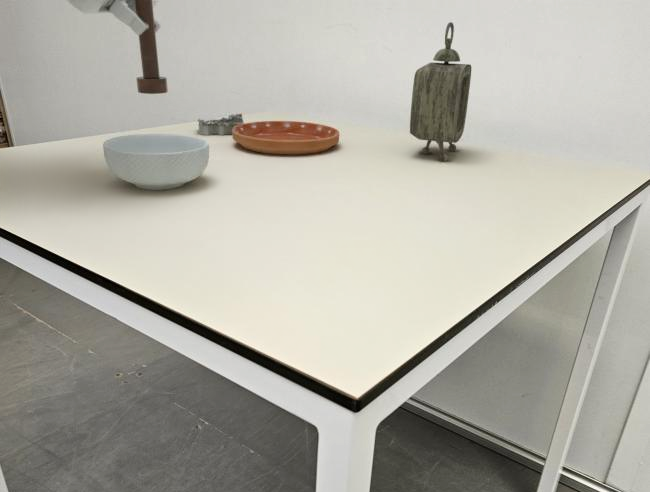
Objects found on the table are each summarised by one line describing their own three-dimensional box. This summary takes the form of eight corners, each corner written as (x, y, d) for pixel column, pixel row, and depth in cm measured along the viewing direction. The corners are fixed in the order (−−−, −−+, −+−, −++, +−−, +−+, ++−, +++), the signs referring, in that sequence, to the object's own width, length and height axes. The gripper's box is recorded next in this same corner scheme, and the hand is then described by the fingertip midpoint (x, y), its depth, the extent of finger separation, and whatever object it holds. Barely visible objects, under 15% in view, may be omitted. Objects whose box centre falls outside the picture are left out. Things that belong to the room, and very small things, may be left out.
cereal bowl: (205, 199, 94) (202, 153, 91) (97, 199, 93) (89, 152, 90) (215, 172, 109) (213, 132, 106) (122, 172, 108) (116, 131, 105)
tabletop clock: (450, 165, 119) (467, 23, 107) (405, 160, 121) (417, 22, 110) (461, 151, 131) (477, 22, 119) (420, 147, 133) (432, 21, 122)
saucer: (326, 135, 143) (326, 119, 141) (350, 157, 123) (351, 138, 121) (229, 137, 138) (228, 120, 136) (237, 160, 118) (236, 140, 117)
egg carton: (244, 131, 146) (244, 113, 144) (243, 137, 139) (243, 118, 137) (199, 130, 145) (198, 112, 143) (196, 136, 138) (195, 117, 136)
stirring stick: (144, 94, 89) (131, -23, 82) (133, 91, 92) (120, -22, 85) (172, 92, 91) (162, -21, 84) (160, 89, 95) (150, -21, 88)
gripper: (103, -27, 95) (167, 43, 98) (21, -35, 78) (102, 51, 81) (126, -60, 92) (191, 13, 95) (46, -76, 75) (129, 15, 78)
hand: (150, 31), depth 88 cm, fingers closed on stirring stick, 2 cm apart
